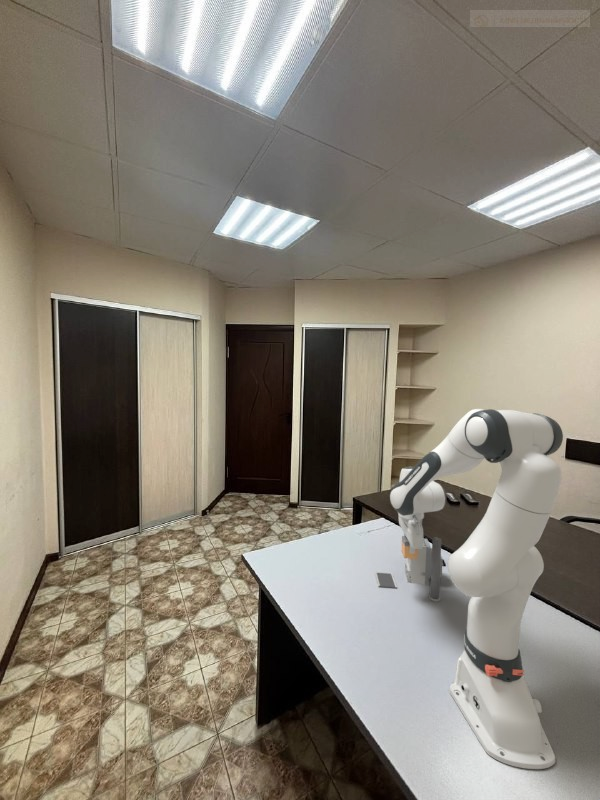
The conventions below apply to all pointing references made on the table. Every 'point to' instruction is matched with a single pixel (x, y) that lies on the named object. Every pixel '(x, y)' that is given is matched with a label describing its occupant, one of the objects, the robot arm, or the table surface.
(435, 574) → the cord posts
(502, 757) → the robot arm
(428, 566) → the circuit breaker
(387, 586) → the mat
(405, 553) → the orange and grey block
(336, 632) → the table surface
